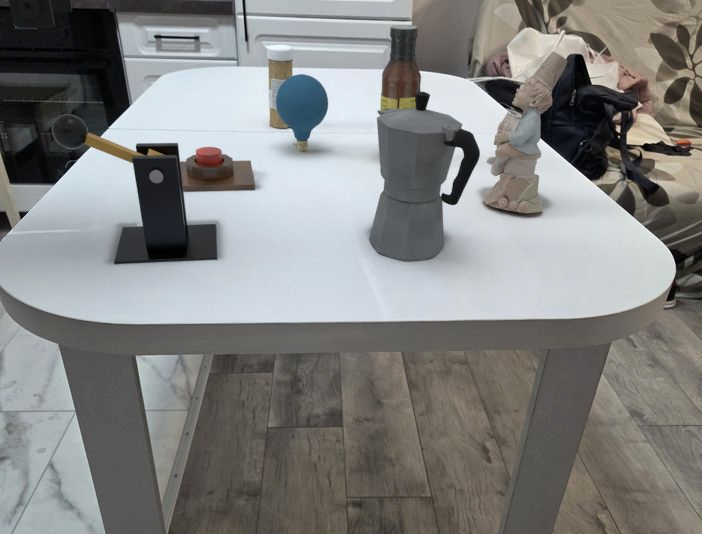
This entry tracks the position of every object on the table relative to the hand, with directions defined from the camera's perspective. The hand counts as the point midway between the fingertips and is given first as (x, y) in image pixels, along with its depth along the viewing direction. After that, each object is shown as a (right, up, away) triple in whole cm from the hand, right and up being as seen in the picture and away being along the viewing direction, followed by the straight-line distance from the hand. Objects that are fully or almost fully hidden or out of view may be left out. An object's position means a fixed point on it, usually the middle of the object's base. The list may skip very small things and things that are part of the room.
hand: (45, 18), depth 57 cm
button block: (+8, -7, +33) cm, 35 cm away
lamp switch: (+7, -19, +15) cm, 25 cm away
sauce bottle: (+36, +1, +46) cm, 58 cm away
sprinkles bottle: (+15, +11, +58) cm, 61 cm away
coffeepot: (+36, -18, +19) cm, 45 cm away
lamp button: (+8, -4, +31) cm, 32 cm away
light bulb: (+20, +2, +47) cm, 51 cm away
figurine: (+51, -10, +32) cm, 61 cm away
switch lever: (+3, -11, +8) cm, 14 cm away
